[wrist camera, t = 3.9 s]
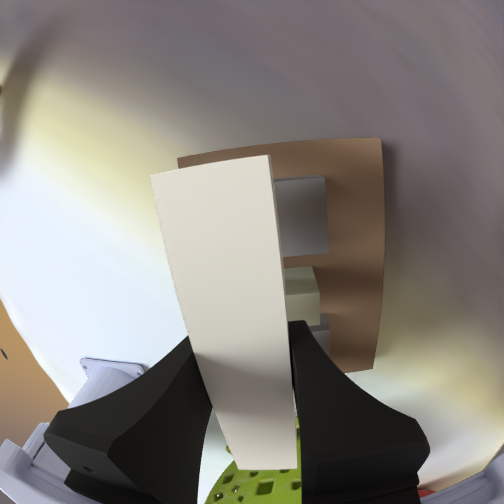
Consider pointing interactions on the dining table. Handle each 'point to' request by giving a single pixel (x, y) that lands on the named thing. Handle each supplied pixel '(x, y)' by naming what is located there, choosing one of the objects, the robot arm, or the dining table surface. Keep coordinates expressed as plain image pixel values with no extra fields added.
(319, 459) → the robot arm
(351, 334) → the brown rectangular board
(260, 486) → the flower pot
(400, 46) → the dining table surface
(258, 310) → the cream bar
